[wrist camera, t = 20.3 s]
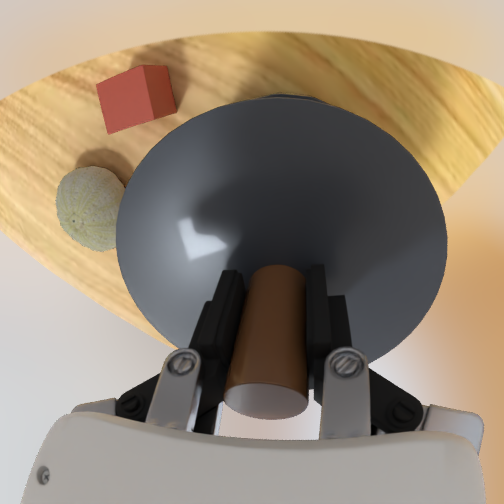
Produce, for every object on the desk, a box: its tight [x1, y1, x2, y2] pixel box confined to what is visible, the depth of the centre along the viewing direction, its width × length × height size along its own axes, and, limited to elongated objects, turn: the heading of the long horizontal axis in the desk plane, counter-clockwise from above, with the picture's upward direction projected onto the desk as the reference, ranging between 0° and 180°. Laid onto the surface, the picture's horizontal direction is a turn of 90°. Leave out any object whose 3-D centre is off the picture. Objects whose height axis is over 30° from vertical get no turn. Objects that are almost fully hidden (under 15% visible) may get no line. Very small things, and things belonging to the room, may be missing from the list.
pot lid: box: [116, 97, 447, 420], centre depth 11 cm, size 15×15×7 cm
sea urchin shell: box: [56, 166, 125, 252], centre depth 26 cm, size 9×8×8 cm
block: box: [96, 65, 177, 134], centre depth 19 cm, size 4×4×4 cm
